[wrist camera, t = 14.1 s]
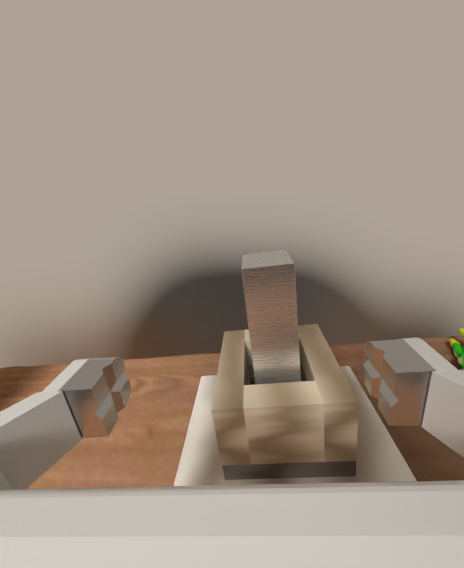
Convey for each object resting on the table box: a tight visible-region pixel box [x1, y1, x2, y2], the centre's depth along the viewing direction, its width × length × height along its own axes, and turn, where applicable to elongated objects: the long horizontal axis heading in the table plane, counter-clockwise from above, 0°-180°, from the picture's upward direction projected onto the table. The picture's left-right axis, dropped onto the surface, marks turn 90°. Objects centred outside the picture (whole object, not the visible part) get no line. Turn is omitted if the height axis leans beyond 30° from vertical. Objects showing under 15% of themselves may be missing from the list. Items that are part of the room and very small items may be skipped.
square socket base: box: [174, 324, 417, 486], centre depth 27 cm, size 20×16×9 cm
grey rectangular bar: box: [242, 250, 301, 385], centre depth 24 cm, size 4×5×16 cm
